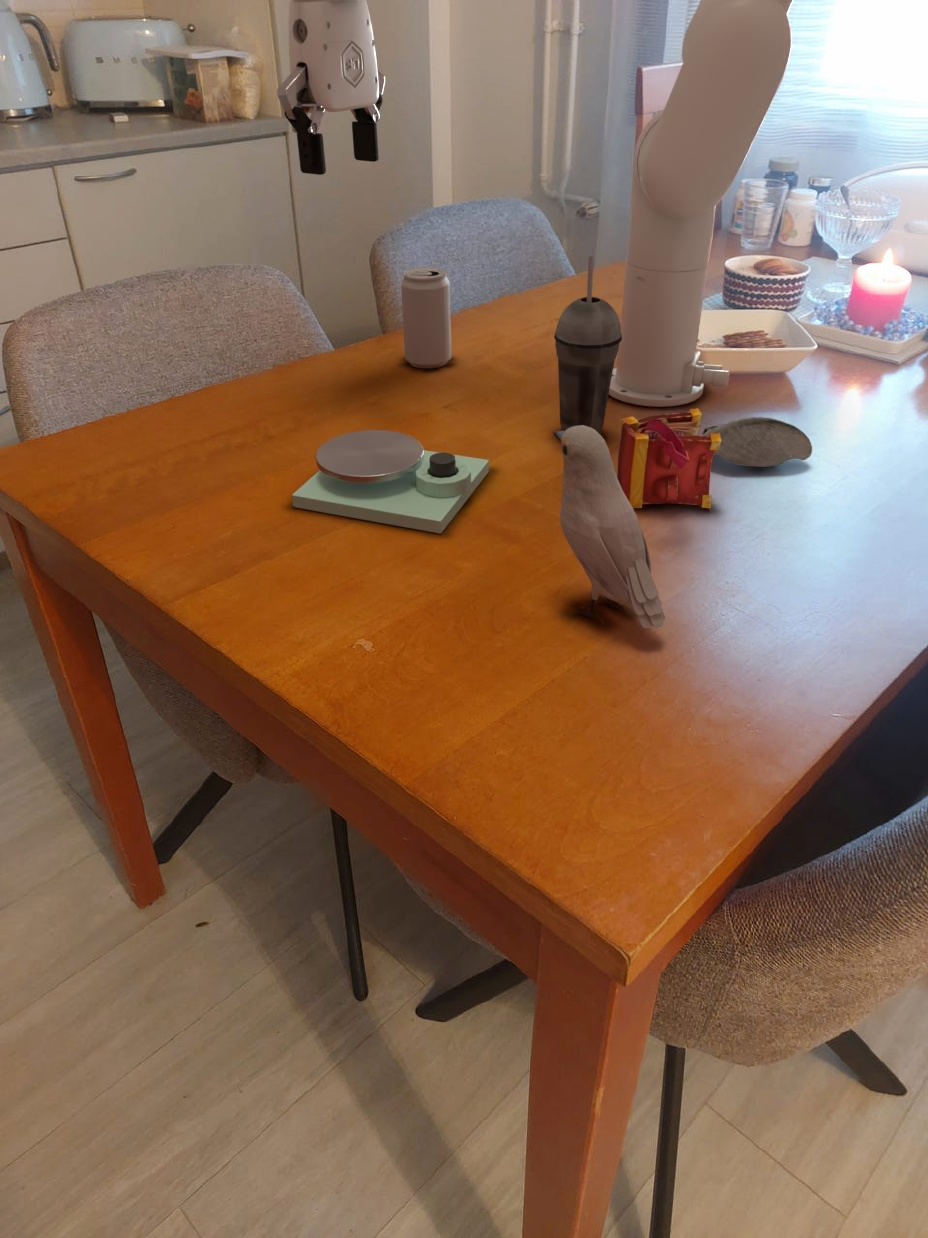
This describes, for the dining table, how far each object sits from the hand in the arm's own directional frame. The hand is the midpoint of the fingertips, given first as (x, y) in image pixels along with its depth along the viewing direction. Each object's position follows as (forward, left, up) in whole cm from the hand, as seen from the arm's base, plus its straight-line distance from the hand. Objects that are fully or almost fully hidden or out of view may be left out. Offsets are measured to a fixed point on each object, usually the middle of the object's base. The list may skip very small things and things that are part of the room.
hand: (340, 166), depth 102 cm
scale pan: (-14, +26, -23) cm, 38 cm away
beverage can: (-6, -10, -26) cm, 28 cm away
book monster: (-44, +21, -26) cm, 55 cm away
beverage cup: (-32, +7, -26) cm, 42 cm away
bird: (-42, +40, -26) cm, 64 cm away
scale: (-17, +26, -26) cm, 40 cm away
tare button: (-22, +26, -23) cm, 41 cm away
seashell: (-51, +7, -26) cm, 57 cm away
